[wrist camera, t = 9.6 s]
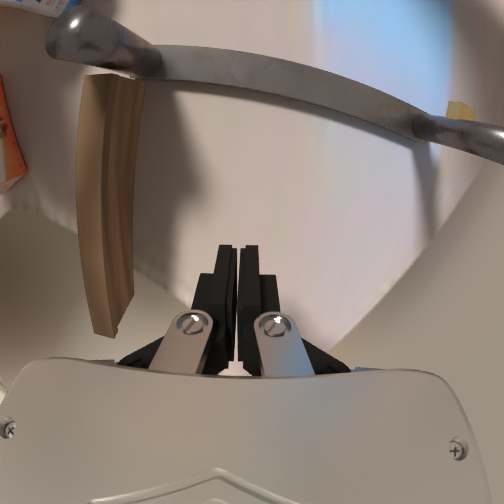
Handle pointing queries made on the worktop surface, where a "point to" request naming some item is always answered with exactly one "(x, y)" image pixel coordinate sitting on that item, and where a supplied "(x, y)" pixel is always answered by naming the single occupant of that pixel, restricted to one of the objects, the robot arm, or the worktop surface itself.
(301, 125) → the worktop surface
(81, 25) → the gate frame
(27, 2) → the medicine box
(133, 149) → the gate
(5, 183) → the cracker box
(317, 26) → the worktop surface
